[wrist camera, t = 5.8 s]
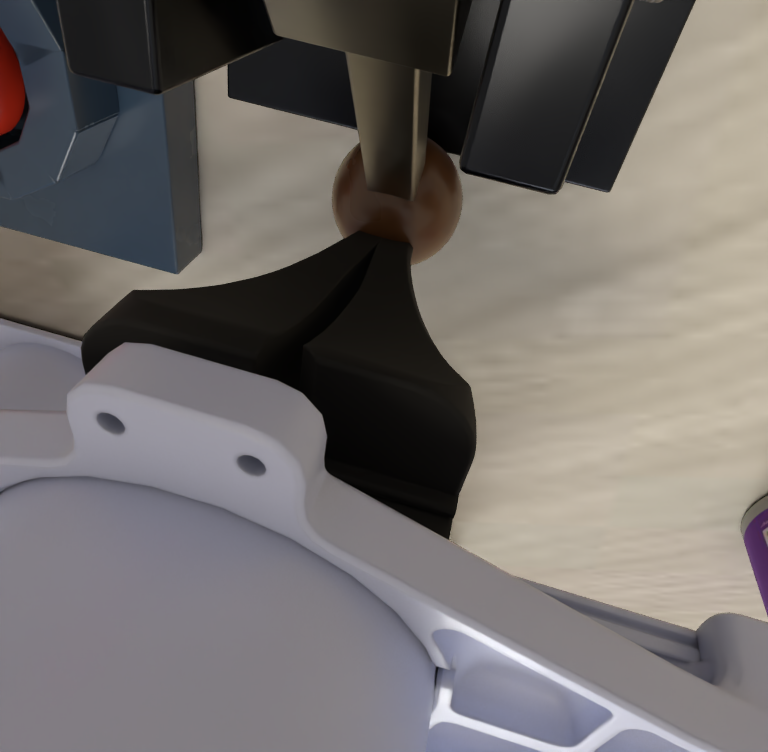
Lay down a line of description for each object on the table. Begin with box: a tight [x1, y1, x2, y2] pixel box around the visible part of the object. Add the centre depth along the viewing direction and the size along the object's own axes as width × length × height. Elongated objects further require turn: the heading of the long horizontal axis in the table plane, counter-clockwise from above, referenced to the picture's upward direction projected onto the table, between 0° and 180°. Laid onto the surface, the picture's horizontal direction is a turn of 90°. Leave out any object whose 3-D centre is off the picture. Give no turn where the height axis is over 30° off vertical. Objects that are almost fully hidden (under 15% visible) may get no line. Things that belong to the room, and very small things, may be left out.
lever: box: [263, 0, 473, 265], centre depth 10 cm, size 12×3×3 cm
